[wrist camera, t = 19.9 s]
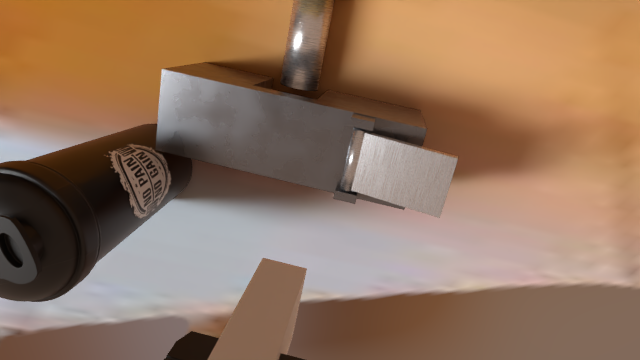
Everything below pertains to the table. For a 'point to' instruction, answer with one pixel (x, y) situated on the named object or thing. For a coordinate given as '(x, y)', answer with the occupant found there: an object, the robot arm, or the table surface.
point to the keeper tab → (398, 172)
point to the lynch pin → (306, 43)
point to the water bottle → (79, 208)
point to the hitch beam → (272, 126)
